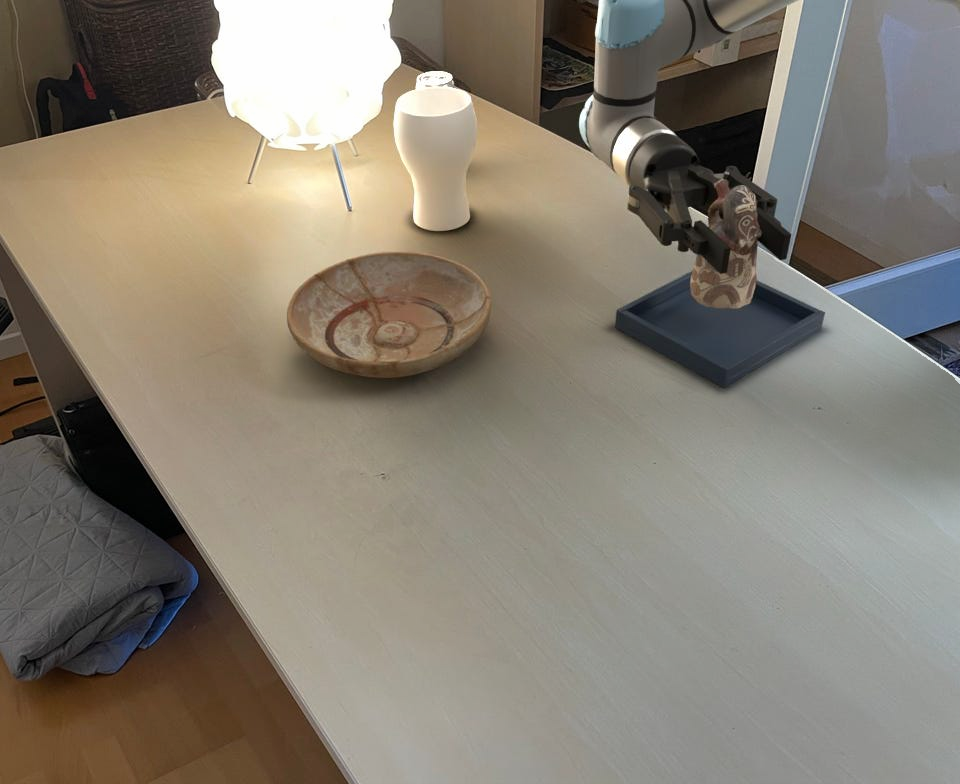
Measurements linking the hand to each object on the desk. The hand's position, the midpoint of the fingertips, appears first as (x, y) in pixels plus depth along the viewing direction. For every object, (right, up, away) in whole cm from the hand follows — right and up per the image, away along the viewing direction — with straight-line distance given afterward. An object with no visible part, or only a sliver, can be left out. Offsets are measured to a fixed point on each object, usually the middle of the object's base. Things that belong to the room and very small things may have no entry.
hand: (755, 254), depth 103 cm
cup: (-34, +18, +33) cm, 50 cm away
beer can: (-34, +30, +44) cm, 63 cm away
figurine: (-1, -1, +9) cm, 9 cm away
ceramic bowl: (-39, -5, +13) cm, 41 cm away
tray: (-1, -4, +12) cm, 13 cm away
